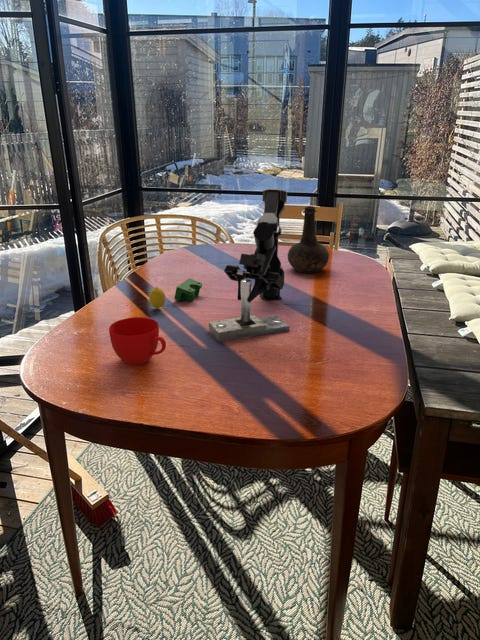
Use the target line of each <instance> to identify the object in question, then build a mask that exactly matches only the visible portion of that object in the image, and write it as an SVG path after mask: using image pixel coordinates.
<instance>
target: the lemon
mask: <svg viewBox="0 0 480 640" xmlns="http://www.w3.org/2000/svg"><path fill="white" fill-rule="evenodd" d="M148 297H149V298H148V301H149V304H150V305H151V306H152V307H153V308H155V309H157V310H160V308H162V307H163V306H164V305H165V303H166V294H165V291H164V290H163V289H161V288H159V287H158V286H156V287H154V288H153V289H151V290H150V292H149V296H148Z"/></svg>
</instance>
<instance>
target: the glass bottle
mask: <svg viewBox="0 0 480 640" xmlns="http://www.w3.org/2000/svg"><path fill="white" fill-rule="evenodd" d="M316 212H317V210H316V207H315V206H310V205H308V206H307V205H306V206H305V207H304V210H303V211H302V213H303V214H304V218H303V226H302V233H301V238H300V241H299V242H297V243H295V244H292V246H291V247H289V250H288V251H287V252H288V253H287V260H288V263H289V265H290V267H292V268H293V269H294V270H295V271H297V272H300V273H305V274H311V273H318V272H320V271H322V270H323V269H324V268H325V267H326V265H327V264H328V262H329V258H330V254H329V251H328V249H327V248H326V247H325V245H323V244H322V243H319V242H318V240H317V235H316V234H317V233H316V221H315V220H316V219H315V218H316Z"/></svg>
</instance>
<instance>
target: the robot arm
mask: <svg viewBox="0 0 480 640" xmlns="http://www.w3.org/2000/svg"><path fill="white" fill-rule="evenodd" d="M262 202H263V203H264V209H263V214H262V215H261V216H260V217H258V221H257V224H255V226H254V229H253V237H254V243H255V247H256V248H255V250H254V253H251V254H247V253H241V255H240V257H239V263H238V264H239V265H243V269H244V270H243V269H241V268H240V267H239V265H234V264H227V265H226V266H225V267H224V270H223V272H224V273H225V275H226V276H227V277H228V278H229V280H231V281H234V282H237V300H238V301H241V280H244V279H248V280H254V284H253V286H252V288H251V293H250V295H249V298H248V302H249V303H250V302H251V303H252V301H254V299H256V298H258V296H260V297H261V298H263V300H265V301H274V300H280V299H283V297H282V296H281V291H282V290H283V287H284V285H285V271H284V269H283V266H282V262H281V260H280V258H279V255H278V252H279V251H278V250H279V237H280V236H281V235H282V228H281V225H280V220H281V214H282V213H283V212H284V210H285V205H286V204H287V202H288V193H287V191H286V190H284V189H280V188H274V187H272V188H271V187H268V188H266V189H265V190H262ZM245 270H246V271H245Z"/></svg>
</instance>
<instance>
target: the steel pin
mask: <svg viewBox="0 0 480 640" xmlns="http://www.w3.org/2000/svg"><path fill="white" fill-rule="evenodd" d="M251 291H252V279H249V278H248V279H244V280H241V299H240V316H239V317H240V320H241V321H244V322H248V321H250V320H251V316H252V301H251V302H250V303H249V302H248V298H249V295H250V293H251Z"/></svg>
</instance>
